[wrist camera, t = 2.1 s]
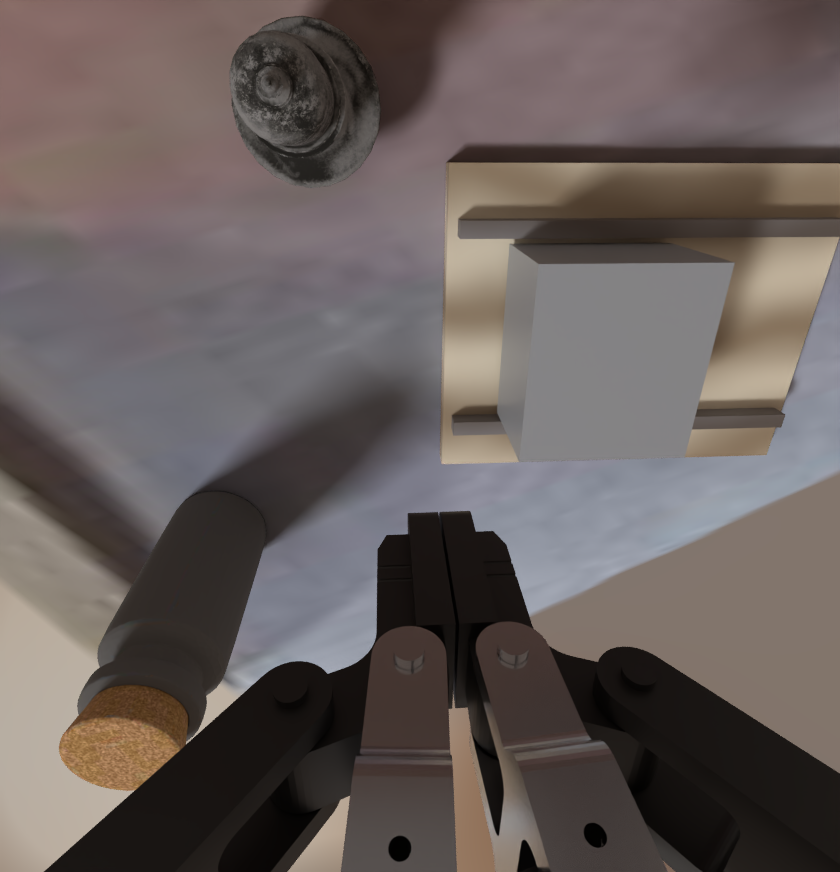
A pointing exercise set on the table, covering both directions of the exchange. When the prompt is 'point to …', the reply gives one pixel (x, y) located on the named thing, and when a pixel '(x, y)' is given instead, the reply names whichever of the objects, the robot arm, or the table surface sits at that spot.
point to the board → (641, 223)
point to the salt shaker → (305, 101)
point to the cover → (606, 348)
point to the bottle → (167, 644)
